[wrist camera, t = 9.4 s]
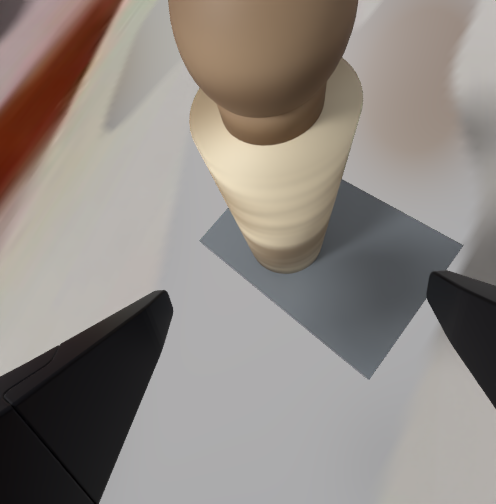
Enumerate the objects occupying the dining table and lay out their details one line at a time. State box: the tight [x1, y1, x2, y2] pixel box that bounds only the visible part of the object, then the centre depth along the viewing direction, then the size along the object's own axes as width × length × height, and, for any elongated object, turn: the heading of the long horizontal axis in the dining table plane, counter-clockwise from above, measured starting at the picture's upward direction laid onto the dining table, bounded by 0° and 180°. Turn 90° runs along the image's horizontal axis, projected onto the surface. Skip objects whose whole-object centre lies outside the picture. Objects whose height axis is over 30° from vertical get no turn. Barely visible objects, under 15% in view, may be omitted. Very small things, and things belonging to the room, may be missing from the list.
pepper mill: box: [168, 0, 363, 274], centre depth 11 cm, size 5×5×15 cm
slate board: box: [200, 179, 463, 379], centre depth 17 cm, size 14×10×1 cm
